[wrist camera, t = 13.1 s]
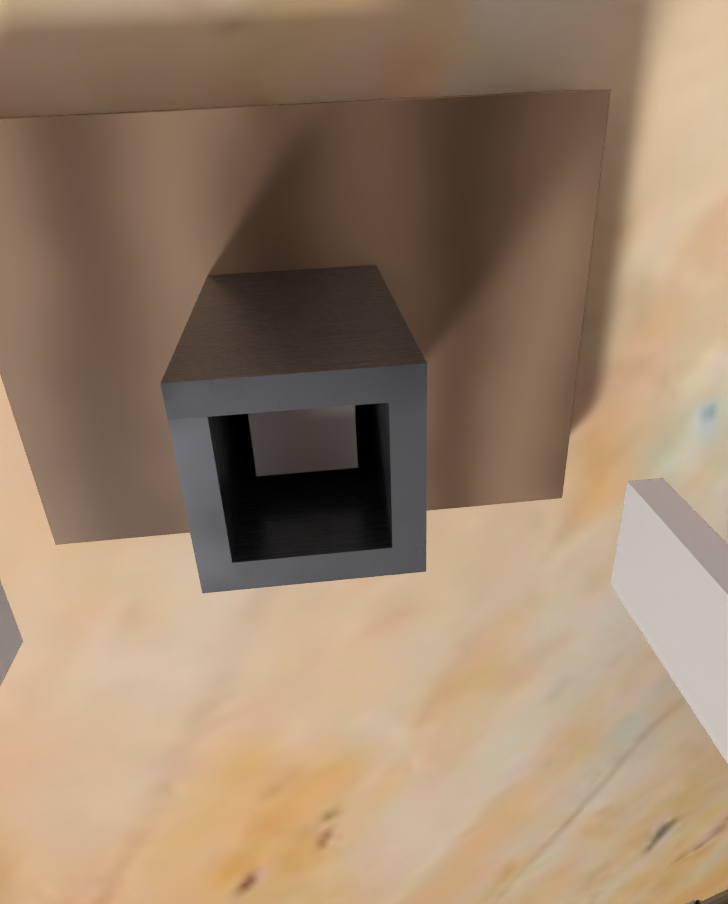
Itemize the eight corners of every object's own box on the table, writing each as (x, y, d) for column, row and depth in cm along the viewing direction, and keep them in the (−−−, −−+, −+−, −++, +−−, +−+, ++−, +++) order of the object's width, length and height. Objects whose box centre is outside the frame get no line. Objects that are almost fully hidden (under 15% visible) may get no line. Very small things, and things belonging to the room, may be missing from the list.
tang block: (576, 90, 25) (735, 88, 16) (539, 465, 32) (633, 603, 24) (-40, 120, 23) (-239, 136, 14) (75, 506, 31) (-9, 670, 22)
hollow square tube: (375, 264, 24) (427, 363, 15) (380, 415, 27) (425, 571, 18) (207, 275, 24) (160, 383, 15) (230, 427, 26) (202, 593, 18)
